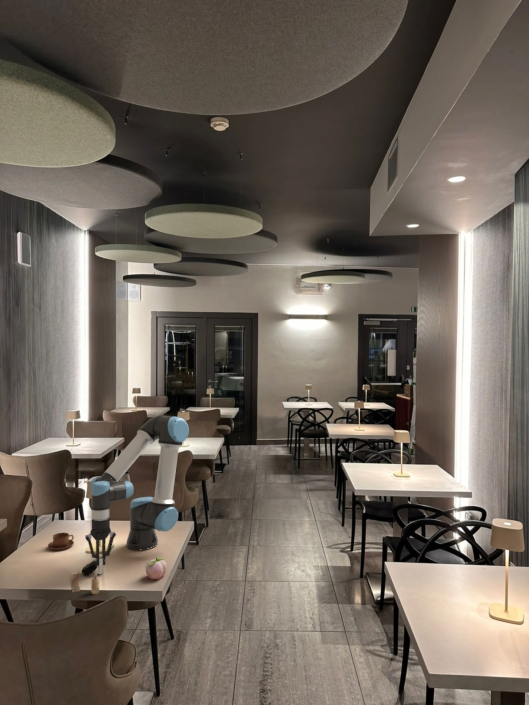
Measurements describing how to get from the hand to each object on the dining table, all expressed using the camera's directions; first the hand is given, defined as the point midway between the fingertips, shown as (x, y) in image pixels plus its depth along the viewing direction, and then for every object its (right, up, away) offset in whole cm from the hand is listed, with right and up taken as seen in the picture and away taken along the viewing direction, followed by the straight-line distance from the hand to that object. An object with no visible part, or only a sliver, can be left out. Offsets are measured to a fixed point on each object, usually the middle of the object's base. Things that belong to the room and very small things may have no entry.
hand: (100, 572), depth 235 cm
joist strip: (-8, -2, -8) cm, 12 cm away
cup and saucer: (-30, -2, +34) cm, 46 cm away
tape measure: (-1, 0, +1) cm, 2 cm away
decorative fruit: (+24, -2, -4) cm, 25 cm away
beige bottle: (+3, -2, -18) cm, 18 cm away
